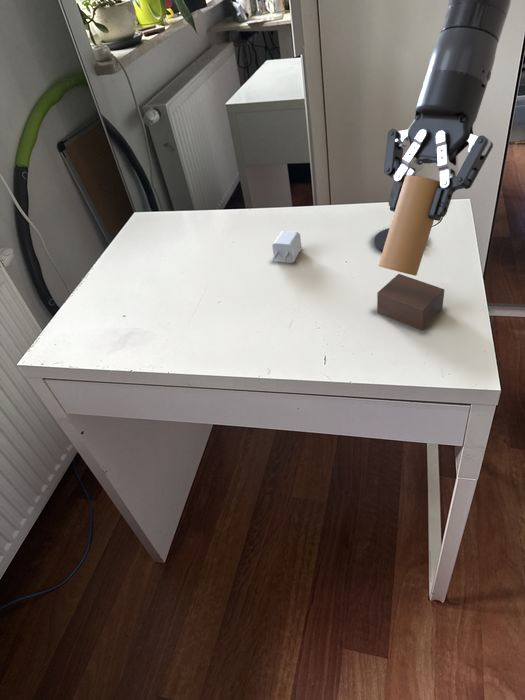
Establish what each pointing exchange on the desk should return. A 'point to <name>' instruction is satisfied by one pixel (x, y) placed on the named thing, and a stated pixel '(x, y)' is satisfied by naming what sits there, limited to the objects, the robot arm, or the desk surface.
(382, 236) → the coaster
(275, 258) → the usb wall charger
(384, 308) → the walnut block
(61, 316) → the desk surface
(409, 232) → the tan cylinder
